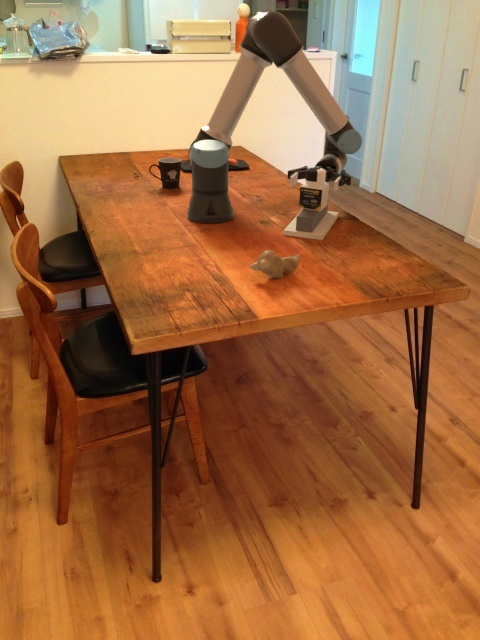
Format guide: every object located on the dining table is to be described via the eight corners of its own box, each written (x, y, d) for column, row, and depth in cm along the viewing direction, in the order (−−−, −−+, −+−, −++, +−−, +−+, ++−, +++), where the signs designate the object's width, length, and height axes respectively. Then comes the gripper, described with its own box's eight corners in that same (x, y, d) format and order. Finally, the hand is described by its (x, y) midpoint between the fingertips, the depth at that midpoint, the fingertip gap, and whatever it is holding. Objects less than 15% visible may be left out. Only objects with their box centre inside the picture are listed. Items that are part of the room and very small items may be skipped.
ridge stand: (322, 240, 177) (323, 220, 174) (283, 234, 181) (284, 215, 178) (338, 216, 197) (339, 199, 194) (303, 212, 201) (304, 195, 198)
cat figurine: (304, 254, 150) (265, 248, 144) (300, 282, 151) (261, 278, 145) (286, 253, 157) (247, 247, 151) (282, 279, 158) (244, 275, 152)
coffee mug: (183, 183, 230) (183, 157, 226) (179, 190, 223) (178, 163, 218) (154, 182, 231) (153, 156, 227) (149, 188, 224) (147, 162, 219)
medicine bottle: (298, 208, 185) (301, 169, 179) (306, 202, 190) (309, 164, 185) (320, 211, 182) (323, 172, 176) (327, 205, 188) (331, 167, 182)
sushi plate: (183, 174, 245) (183, 165, 244) (171, 158, 271) (171, 149, 269) (251, 171, 252) (251, 162, 250) (233, 155, 278) (233, 147, 276)
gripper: (364, 183, 195) (352, 200, 178) (291, 175, 203) (272, 191, 185) (366, 160, 192) (355, 175, 174) (292, 153, 199) (274, 167, 182)
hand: (312, 184), depth 180 cm, fingers open, 13 cm apart
